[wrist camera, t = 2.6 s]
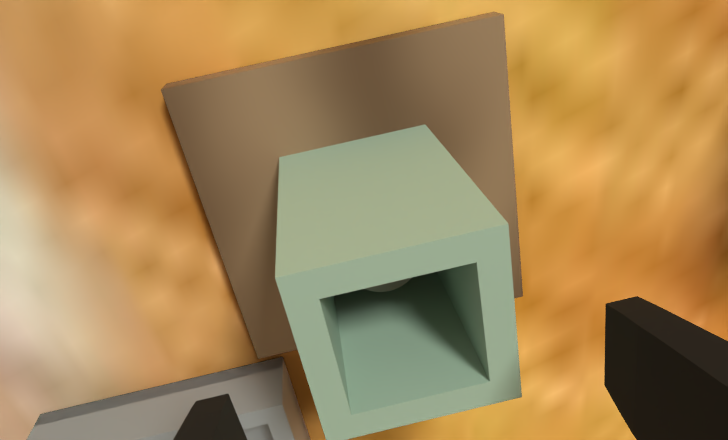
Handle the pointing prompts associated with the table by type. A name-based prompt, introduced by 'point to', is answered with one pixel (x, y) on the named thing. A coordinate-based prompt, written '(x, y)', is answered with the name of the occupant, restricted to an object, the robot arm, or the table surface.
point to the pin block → (339, 137)
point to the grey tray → (185, 408)
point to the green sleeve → (389, 264)
